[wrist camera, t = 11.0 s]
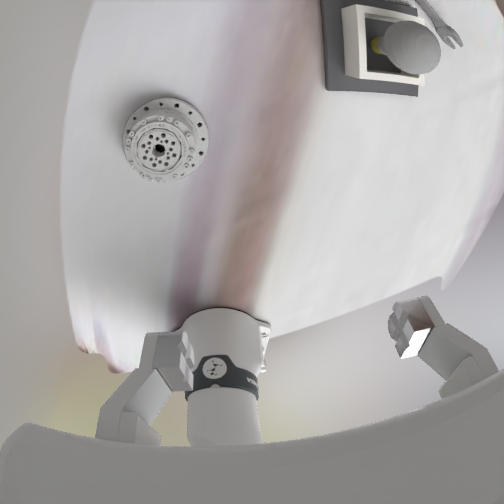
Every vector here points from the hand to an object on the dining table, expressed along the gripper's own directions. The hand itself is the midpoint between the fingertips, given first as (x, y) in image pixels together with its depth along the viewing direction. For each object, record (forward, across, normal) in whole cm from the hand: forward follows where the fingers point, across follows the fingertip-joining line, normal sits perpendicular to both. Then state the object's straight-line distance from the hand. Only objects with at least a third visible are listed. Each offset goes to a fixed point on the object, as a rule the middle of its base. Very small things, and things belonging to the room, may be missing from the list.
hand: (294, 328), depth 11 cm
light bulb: (+25, -15, -11) cm, 31 cm away
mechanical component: (+27, +9, -1) cm, 28 cm away
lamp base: (+26, -15, -12) cm, 32 cm away
